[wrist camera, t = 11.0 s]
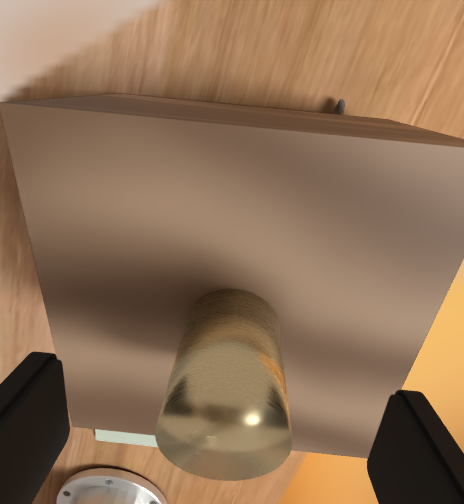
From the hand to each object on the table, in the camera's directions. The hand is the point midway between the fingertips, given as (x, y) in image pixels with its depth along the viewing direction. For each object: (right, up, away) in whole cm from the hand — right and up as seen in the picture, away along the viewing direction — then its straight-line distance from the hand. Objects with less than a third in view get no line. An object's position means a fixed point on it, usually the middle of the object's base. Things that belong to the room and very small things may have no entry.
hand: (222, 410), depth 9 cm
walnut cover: (+1, +6, +14) cm, 15 cm away
